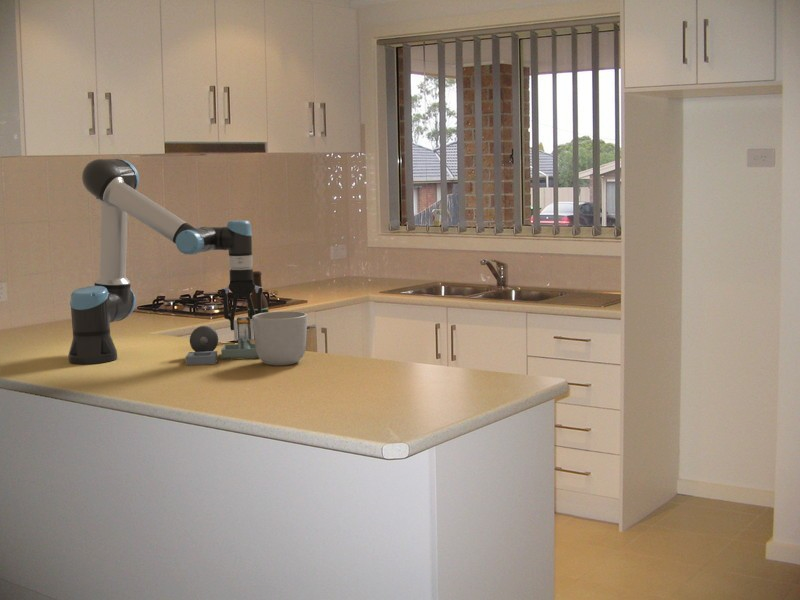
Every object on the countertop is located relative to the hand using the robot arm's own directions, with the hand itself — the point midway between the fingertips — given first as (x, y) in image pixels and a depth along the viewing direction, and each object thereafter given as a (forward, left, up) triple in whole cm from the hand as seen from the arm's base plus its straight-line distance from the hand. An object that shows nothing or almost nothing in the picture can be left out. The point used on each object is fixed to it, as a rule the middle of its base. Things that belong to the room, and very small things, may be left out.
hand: (244, 339), depth 329 cm
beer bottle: (+3, +35, -6) cm, 36 cm away
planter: (+12, -16, -6) cm, 21 cm away
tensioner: (-13, -4, -5) cm, 15 cm away
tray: (0, 0, -5) cm, 5 cm away
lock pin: (0, 0, -5) cm, 5 cm away
